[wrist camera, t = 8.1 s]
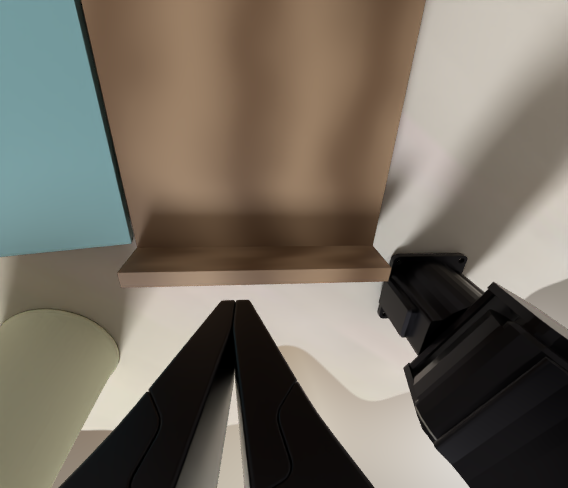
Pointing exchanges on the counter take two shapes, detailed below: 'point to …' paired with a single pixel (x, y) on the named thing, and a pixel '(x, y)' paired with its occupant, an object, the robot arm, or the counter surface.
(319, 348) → the counter surface
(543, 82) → the counter surface
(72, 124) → the teal flat rectangular block
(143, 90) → the flatbed
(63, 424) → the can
